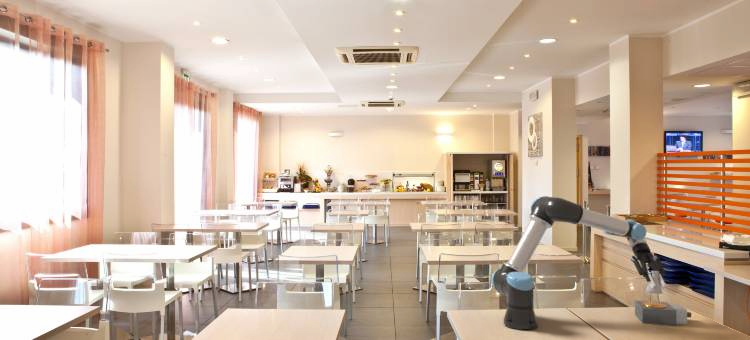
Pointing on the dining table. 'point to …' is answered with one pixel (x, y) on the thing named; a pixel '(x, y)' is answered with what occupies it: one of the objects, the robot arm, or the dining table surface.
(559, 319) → the dining table surface
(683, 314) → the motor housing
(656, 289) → the flask
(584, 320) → the dining table surface
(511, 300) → the robot arm
